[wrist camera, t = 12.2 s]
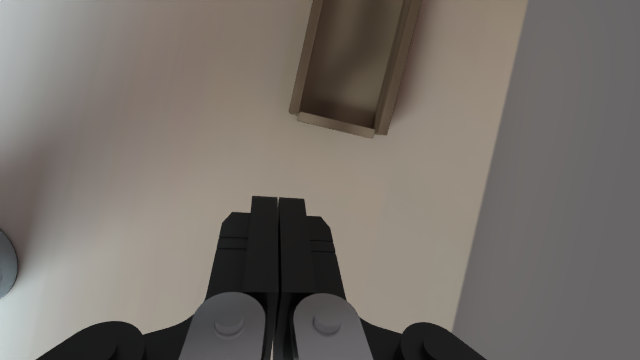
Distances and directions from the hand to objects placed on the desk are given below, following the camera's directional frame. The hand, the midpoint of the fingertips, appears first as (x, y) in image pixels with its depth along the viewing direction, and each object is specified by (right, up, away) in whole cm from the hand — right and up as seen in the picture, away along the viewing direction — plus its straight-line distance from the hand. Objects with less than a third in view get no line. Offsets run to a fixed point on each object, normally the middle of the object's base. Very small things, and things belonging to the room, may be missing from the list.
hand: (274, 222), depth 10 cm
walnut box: (+4, +13, +21) cm, 25 cm away
